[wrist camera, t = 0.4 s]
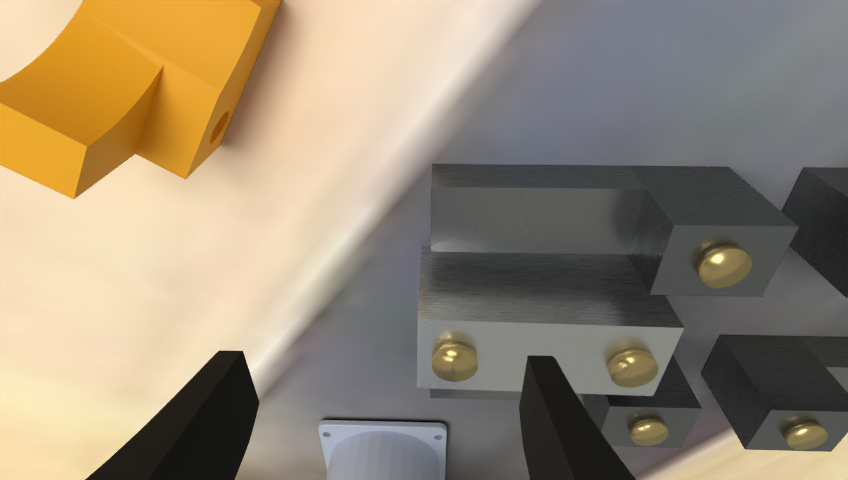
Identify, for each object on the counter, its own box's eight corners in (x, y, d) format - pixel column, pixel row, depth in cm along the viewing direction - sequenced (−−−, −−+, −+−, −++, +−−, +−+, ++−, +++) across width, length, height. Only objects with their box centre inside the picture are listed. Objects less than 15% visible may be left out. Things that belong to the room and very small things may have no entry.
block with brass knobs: (616, 313, 24) (657, 406, 19) (421, 307, 24) (416, 397, 19) (637, 250, 21) (690, 337, 17) (421, 244, 22) (416, 329, 17)
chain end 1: (646, 372, 26) (684, 455, 22) (431, 367, 26) (429, 448, 22) (728, 167, 19) (807, 233, 15) (432, 164, 19) (430, 228, 15)
